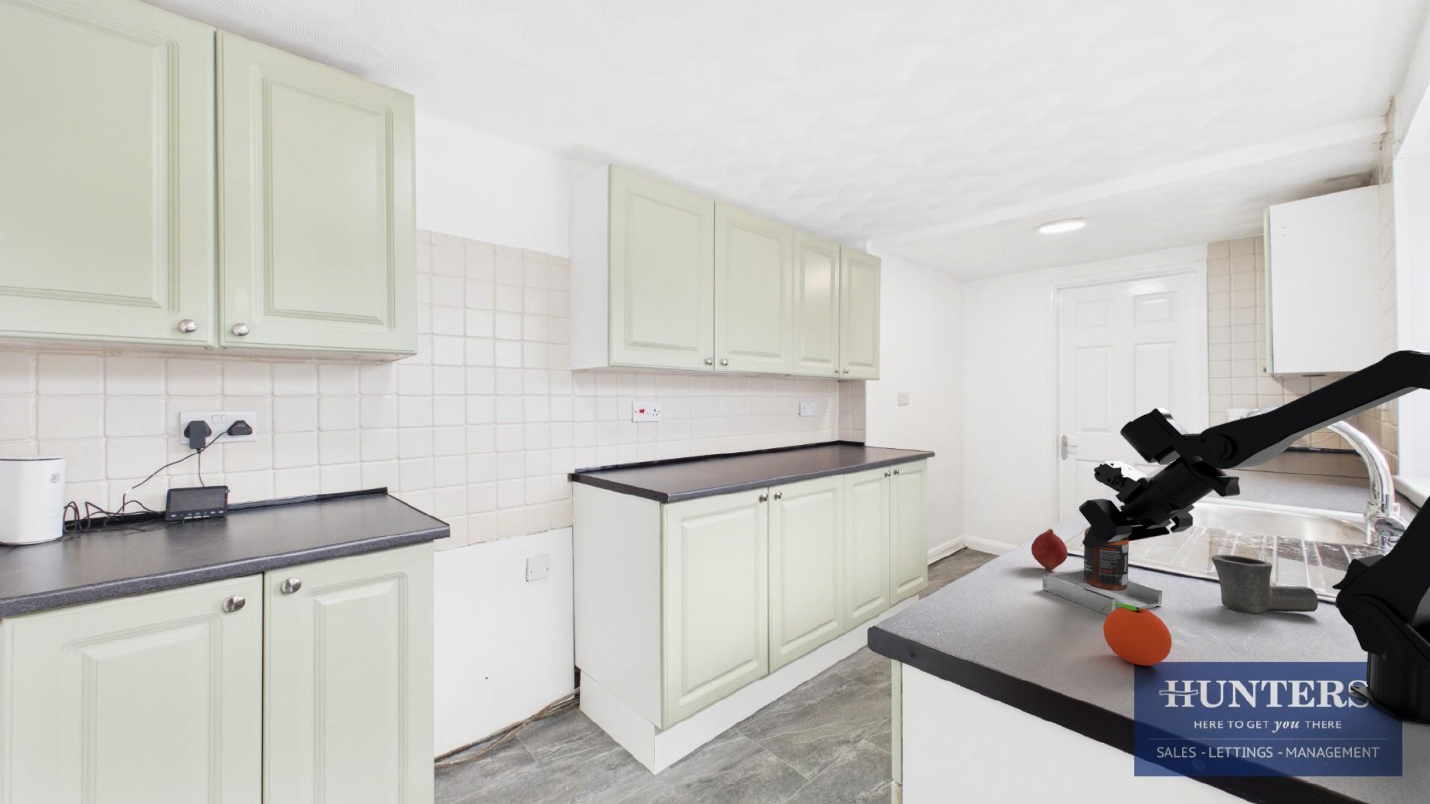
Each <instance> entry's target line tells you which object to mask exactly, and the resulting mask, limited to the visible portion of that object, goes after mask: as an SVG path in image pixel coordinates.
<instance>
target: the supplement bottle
mask: <svg viewBox="0 0 1430 804" xmlns="http://www.w3.org/2000/svg"><path fill="white" fill-rule="evenodd" d="M1090 527H1091V525H1090V526H1089V527H1088V528H1086V529H1085V530H1084V536H1083V537H1084V538H1085V536H1086V535H1087V533H1088V531H1089V529H1090ZM1084 538H1083V539H1084ZM1126 538H1127V539H1128V540H1126V541H1121V542H1116V543H1111V544H1106V545H1101V546H1096V547H1090V548H1086V547H1085V546H1084V545H1083V568H1084V581H1085V582H1086V583H1087V584H1088V585H1090V586H1093V587H1095V588H1099V589H1103V590H1110V591H1122V590H1125V589H1127V587H1128V579H1129V547H1130V546H1129V543H1130V541H1129V538H1128V536H1127V537H1126Z"/></svg>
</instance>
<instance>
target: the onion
mask: <svg viewBox="0 0 1430 804" xmlns="http://www.w3.org/2000/svg"><path fill="white" fill-rule="evenodd" d="M1030 550H1031V554H1032V557H1033V558H1034V559H1035V560H1036V562H1037V563H1039V564H1040V565H1041V566H1042V567H1043V568H1044V569H1045V570H1047V571H1053V570H1054V569H1056V568H1057V567H1059V566H1061V565H1062V564H1063V563H1064V562H1065V561H1066V560H1067V558H1068V548H1067V546H1066V544H1065V542H1064V541H1063V539H1062V538H1061V537H1059V536H1058V535H1057V534H1056V533H1054V529H1053V528H1048V529H1047V530H1046V531H1044V532H1042V533H1040V534H1039V535H1037V536H1036V537H1035V539H1034V540H1033V542H1032V544H1031V549H1030Z"/></svg>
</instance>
